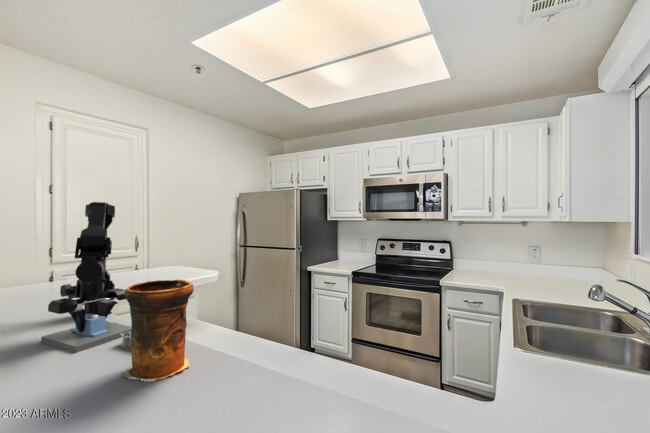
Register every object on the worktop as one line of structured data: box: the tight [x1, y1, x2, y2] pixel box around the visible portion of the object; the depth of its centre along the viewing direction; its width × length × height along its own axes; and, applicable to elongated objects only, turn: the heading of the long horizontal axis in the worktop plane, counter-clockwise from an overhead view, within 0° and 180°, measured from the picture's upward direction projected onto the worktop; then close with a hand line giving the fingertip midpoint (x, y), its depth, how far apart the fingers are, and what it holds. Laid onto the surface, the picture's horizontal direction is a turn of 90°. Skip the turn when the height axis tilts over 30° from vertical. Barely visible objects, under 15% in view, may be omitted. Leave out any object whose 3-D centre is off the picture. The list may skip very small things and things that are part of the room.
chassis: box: [40, 320, 132, 353], centre depth 90 cm, size 16×16×2 cm
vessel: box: [122, 279, 195, 383], centre depth 73 cm, size 14×14×20 cm
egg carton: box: [120, 331, 131, 348], centre depth 86 cm, size 11×8×4 cm
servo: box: [70, 313, 110, 338], centre depth 90 cm, size 4×11×7 cm, turn 68°
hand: (90, 329), depth 90 cm, fingers open, 5 cm apart
